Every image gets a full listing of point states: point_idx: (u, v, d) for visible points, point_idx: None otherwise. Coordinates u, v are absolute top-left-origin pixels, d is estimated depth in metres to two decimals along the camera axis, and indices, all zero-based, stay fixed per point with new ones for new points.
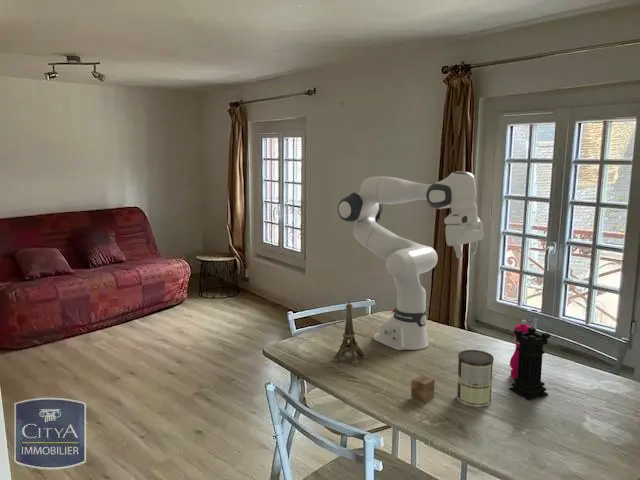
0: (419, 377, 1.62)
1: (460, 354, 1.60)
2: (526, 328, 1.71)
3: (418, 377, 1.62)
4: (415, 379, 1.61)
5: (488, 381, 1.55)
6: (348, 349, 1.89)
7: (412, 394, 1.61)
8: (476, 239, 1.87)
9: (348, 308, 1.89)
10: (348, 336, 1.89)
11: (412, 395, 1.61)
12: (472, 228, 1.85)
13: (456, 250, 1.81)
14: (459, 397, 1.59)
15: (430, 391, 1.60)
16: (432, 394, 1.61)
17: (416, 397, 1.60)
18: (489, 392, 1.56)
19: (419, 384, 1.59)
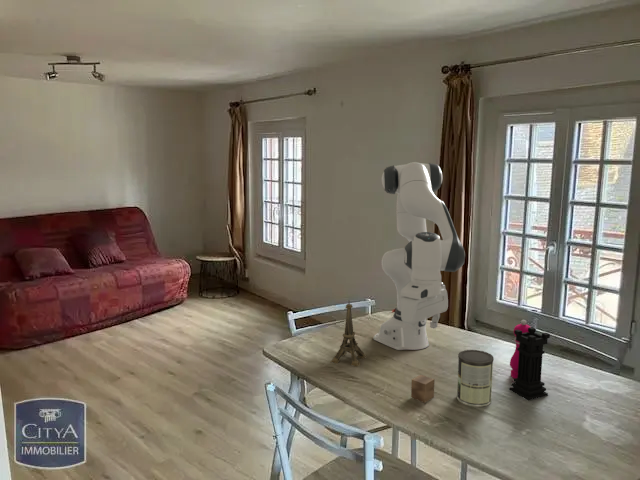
0: (419, 377, 1.62)
1: (460, 354, 1.60)
2: (526, 328, 1.71)
3: (418, 377, 1.62)
4: (415, 379, 1.61)
5: (488, 381, 1.55)
6: (348, 349, 1.89)
7: (412, 394, 1.61)
8: (438, 312, 1.59)
9: (348, 308, 1.89)
10: (348, 336, 1.89)
11: (412, 395, 1.61)
12: (434, 300, 1.57)
13: (412, 327, 1.54)
14: (459, 397, 1.59)
15: (430, 391, 1.60)
16: (432, 394, 1.61)
17: (416, 397, 1.60)
18: (489, 392, 1.56)
19: (419, 384, 1.59)
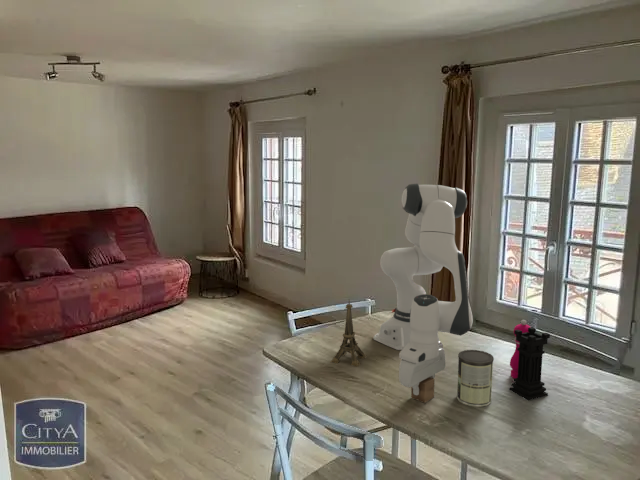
0: None
1: (460, 354, 1.60)
2: (526, 328, 1.71)
3: None
4: None
5: (488, 381, 1.55)
6: (348, 349, 1.89)
7: (412, 394, 1.61)
8: (435, 372, 1.62)
9: (348, 308, 1.89)
10: (348, 336, 1.89)
11: (412, 395, 1.61)
12: (432, 360, 1.60)
13: (413, 386, 1.58)
14: (459, 397, 1.59)
15: (430, 391, 1.60)
16: (432, 394, 1.61)
17: (416, 397, 1.60)
18: (489, 392, 1.56)
19: (419, 384, 1.59)
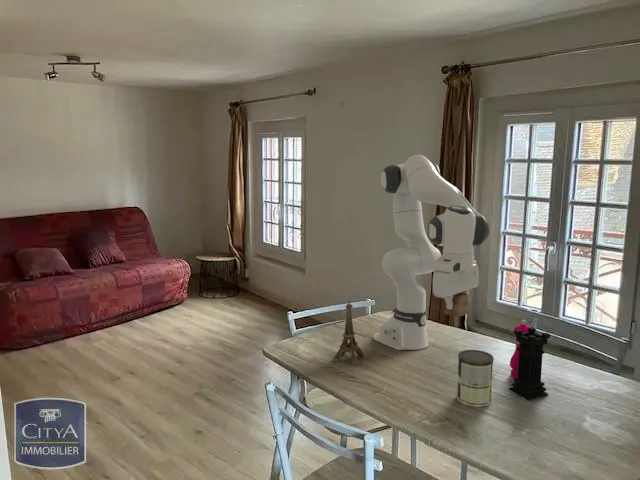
0: None
1: (460, 354, 1.60)
2: (526, 328, 1.71)
3: None
4: None
5: (488, 381, 1.55)
6: (348, 349, 1.89)
7: (445, 310, 1.56)
8: (469, 287, 1.57)
9: (348, 308, 1.89)
10: (348, 336, 1.89)
11: (445, 311, 1.56)
12: (466, 275, 1.55)
13: (447, 300, 1.53)
14: (459, 397, 1.59)
15: (465, 306, 1.55)
16: (466, 309, 1.55)
17: (449, 312, 1.55)
18: (489, 392, 1.56)
19: (453, 298, 1.54)
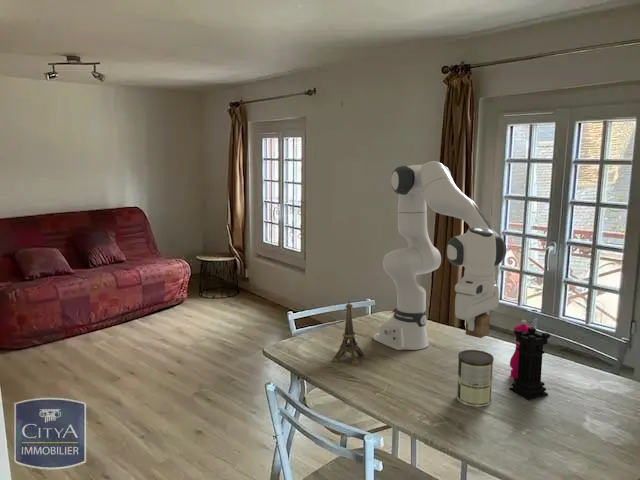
0: None
1: (460, 354, 1.60)
2: (526, 328, 1.71)
3: None
4: None
5: (488, 381, 1.55)
6: (348, 349, 1.89)
7: (467, 330, 1.56)
8: (490, 308, 1.57)
9: (348, 308, 1.89)
10: (348, 336, 1.89)
11: (467, 331, 1.56)
12: (487, 296, 1.56)
13: (468, 322, 1.53)
14: (459, 397, 1.59)
15: (486, 327, 1.55)
16: (487, 330, 1.56)
17: (471, 333, 1.55)
18: (489, 392, 1.56)
19: None
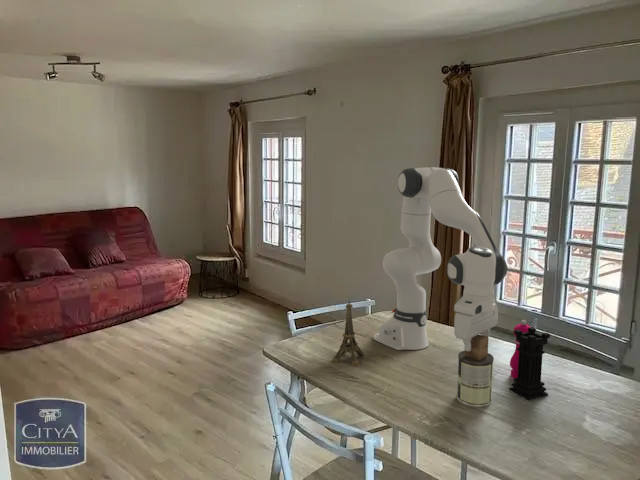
0: None
1: (460, 354, 1.60)
2: (526, 328, 1.71)
3: None
4: None
5: (488, 381, 1.55)
6: (348, 349, 1.89)
7: (465, 352, 1.58)
8: (489, 327, 1.58)
9: (348, 308, 1.89)
10: (348, 336, 1.89)
11: (465, 353, 1.58)
12: (486, 315, 1.57)
13: (465, 342, 1.53)
14: (459, 397, 1.59)
15: (485, 349, 1.56)
16: (486, 352, 1.57)
17: (469, 355, 1.57)
18: (489, 392, 1.56)
19: (473, 341, 1.55)
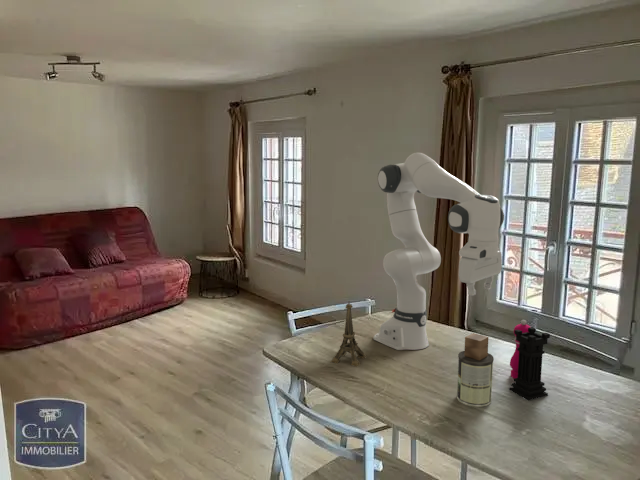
0: (472, 335, 1.58)
1: (460, 354, 1.60)
2: (526, 328, 1.71)
3: (471, 335, 1.58)
4: (469, 337, 1.57)
5: (488, 381, 1.55)
6: (348, 349, 1.89)
7: (465, 352, 1.58)
8: (493, 273, 1.62)
9: (348, 308, 1.89)
10: (348, 336, 1.89)
11: (465, 353, 1.58)
12: (490, 261, 1.60)
13: (469, 286, 1.57)
14: (459, 397, 1.59)
15: (485, 349, 1.56)
16: (486, 352, 1.57)
17: (469, 355, 1.57)
18: (489, 392, 1.56)
19: (473, 341, 1.55)
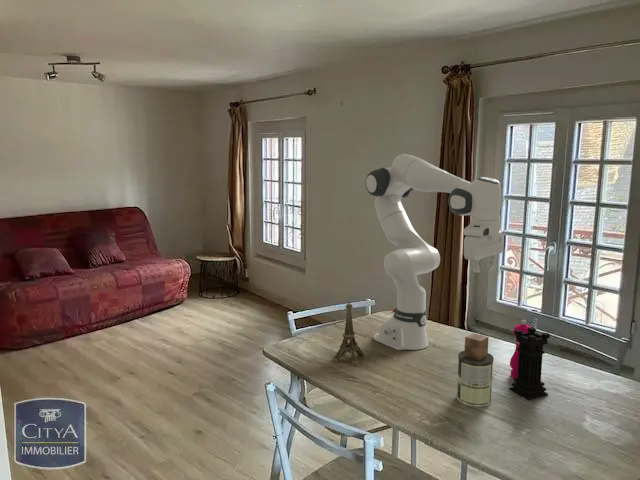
0: (472, 335, 1.58)
1: (460, 354, 1.60)
2: (526, 328, 1.71)
3: (471, 335, 1.58)
4: (469, 337, 1.57)
5: (488, 381, 1.55)
6: (348, 349, 1.89)
7: (465, 352, 1.58)
8: (495, 252, 1.71)
9: (348, 308, 1.89)
10: (348, 336, 1.89)
11: (465, 353, 1.58)
12: (492, 240, 1.69)
13: (473, 264, 1.66)
14: (459, 397, 1.59)
15: (485, 349, 1.56)
16: (486, 352, 1.57)
17: (469, 355, 1.57)
18: (489, 392, 1.56)
19: (473, 341, 1.55)
